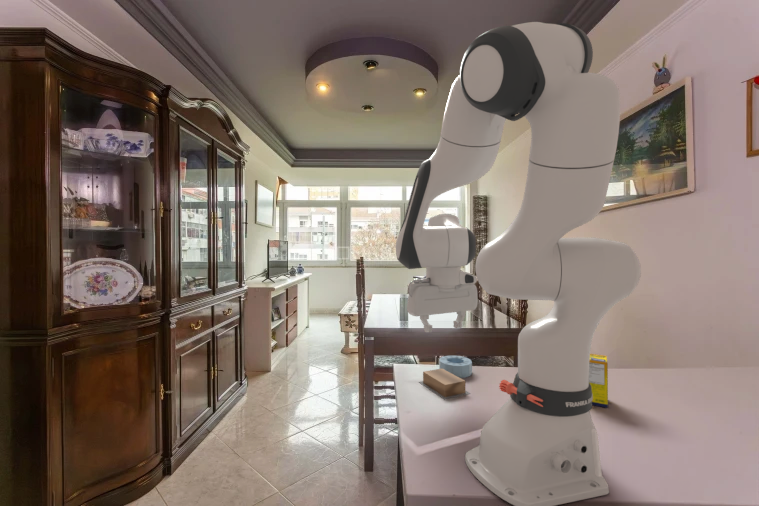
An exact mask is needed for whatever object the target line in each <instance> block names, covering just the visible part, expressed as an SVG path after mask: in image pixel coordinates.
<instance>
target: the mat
mask: <svg viewBox="0 0 759 506" xmlns="http://www.w3.org/2000/svg"><path fill="white" fill-rule="evenodd" d="M418 383H419V384H420V385H422V386H423V387H425V388H426V389H428V390H429V391H431V392H432V393H434V394H435V395H437V396H438V397H440V398H441V399H443V400H449V399H454V398H460V397H462V396H467V395H471V393H470V392H469V391H467V390H465V393H462V394H458V395H453V396H449V397H444V396H443V395H441V394H439V393H438V392H436V391H435V390H433V389H432V388H430V387H429V386H427V385H426V384H424V383H423V380H422V381H418Z"/></svg>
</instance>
